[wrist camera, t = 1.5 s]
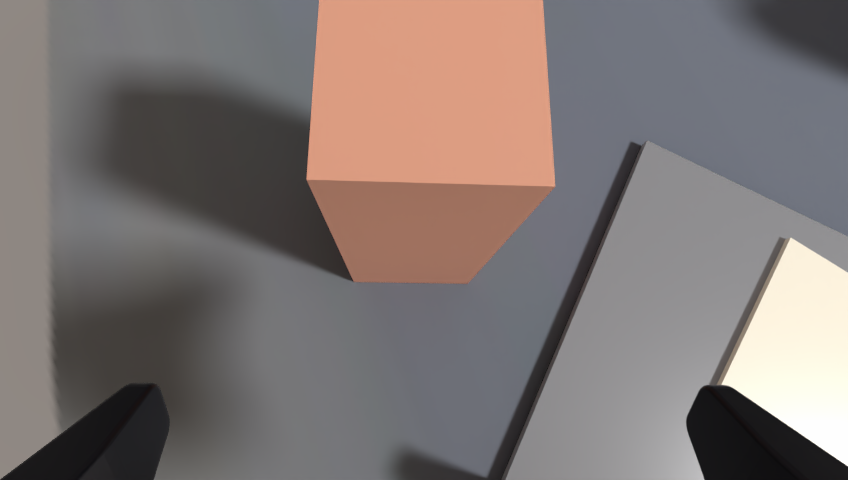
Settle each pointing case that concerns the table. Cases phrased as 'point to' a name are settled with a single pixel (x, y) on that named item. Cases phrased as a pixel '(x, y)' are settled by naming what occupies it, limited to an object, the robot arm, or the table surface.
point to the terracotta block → (428, 132)
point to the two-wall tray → (691, 329)
